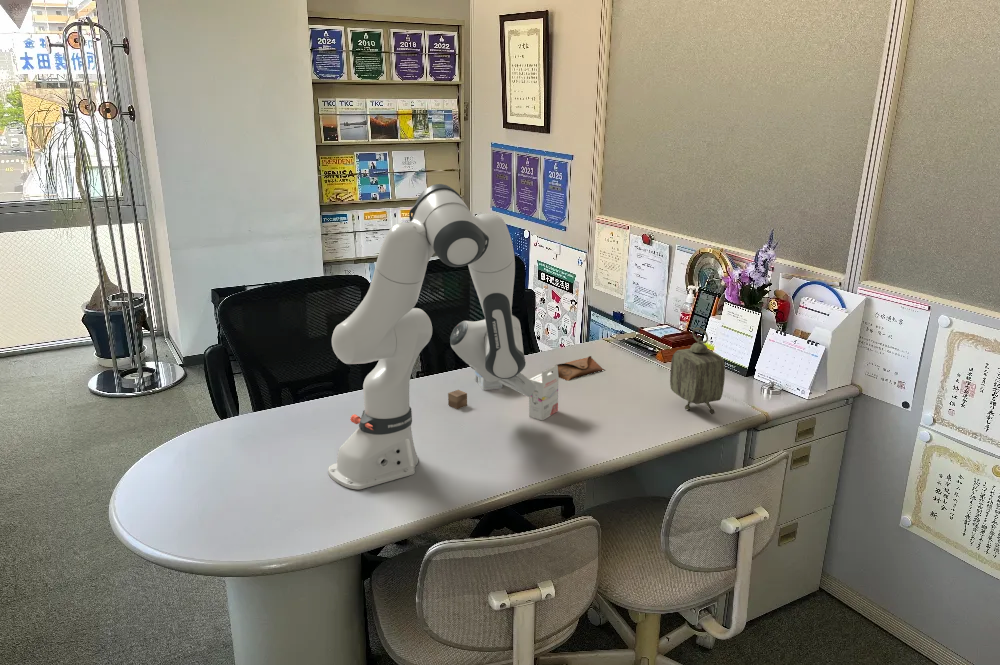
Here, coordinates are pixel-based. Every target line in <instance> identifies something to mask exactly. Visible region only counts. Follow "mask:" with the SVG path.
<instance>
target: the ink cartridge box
mask: <svg viewBox="0 0 1000 665" xmlns="http://www.w3.org/2000/svg"><path fill="white" fill-rule="evenodd" d="M555 365H556V366H555ZM555 365H554V366H552V367H550V368H548V369H546V370H544V371H542V372H541V373H539V374H537V375H535V376H533V377H531V378H528V379H529V380H530V381H531V382H533V383H534V384H535V385H536V389H535V391H534V392H533V394H532V395H531V396H530V397H528V416H529V418H532V419H536V420H539V421H544V420H545V419H547V418H549V417H551V416H553V415H554V414H555V413H557V412H559V375H558V365H557V364H555ZM552 371H553V373H552Z"/></svg>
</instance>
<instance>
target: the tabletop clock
mask: <svg viewBox="0 0 1000 665" xmlns="http://www.w3.org/2000/svg"><path fill="white" fill-rule="evenodd" d="M697 330H698V331H701V332H702V333H703V334H704V335H705V338H706V340H702V339H703V338H702V337H700V336H699V337H697V336H696V335H695V331H697ZM692 337H693V339H694V340H695V341H696V342H695V343H693V344H691V346H690V348H684V349H678V350H676V351H675V352H674V353H673V355H672V358H671V363H670V377H669V378H670V379H669V386H670V389H671V392H673V393H674V394H676V395H677V396H679V397H680V398H682V399H683V400H686V401H687V404H686V405H685V406H684V409H685V410H686V409H690V410H691V408H692V407H691V406H690V405H691V403H693V404H694V405H698V404H699V405H700V404H705V405H706V406H707V408H708V409H709V411H708V412H709V413H711V414H710V415H714V414H715V412H716V410H715V408H712V407H711V405H710V403H711V402H716V401H717V402H718V401H720V400H721V399H722V396H723V393H724V386H725V378H726V377H725V376H726V375H725V374H726V363H725V360H724V359H723V357H722V356H721V355H719V354H718V353H716V352H715V351H713V350H711V349H709V348H708V346H707V345H706V343H708V341H709V336H708V333H707V331H706V330H705V329H703V328H701V327H695V328H693V330H692Z"/></svg>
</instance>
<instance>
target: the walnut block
mask: <svg viewBox="0 0 1000 665" xmlns="http://www.w3.org/2000/svg"><path fill="white" fill-rule="evenodd" d="M447 398H448V399H447V401H448V404H447V406H448V405H449V407H451V408H454V409H455V410H459V409H462V408H464V407H467V406H468V393H467V392H466V391H463V390H460V389H457V390H456V389H455V390H453V391H450V392H448V393H447Z"/></svg>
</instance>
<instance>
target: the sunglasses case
mask: <svg viewBox="0 0 1000 665" xmlns="http://www.w3.org/2000/svg"><path fill="white" fill-rule="evenodd" d="M556 365H558V375H559V377H558V379H562V380H564V379H565V381H572V380H575V379H579V378H582V377H585V376H587V374H589V375H592V374H595V373H594V372H596V373H599V372H598V371H600V372H603V371H602V370H605V369H604V368H602V367H601V365H600V364H599V363H597V361H596V360H595V359H593V357H592V355H589V356H587V357H585V358H579V359H575V360H570V361H568V362H567V361H566V362H564V363H558V364H555V365H554V366H556ZM551 373H553V371H551ZM591 373H592V374H591ZM581 376H582V377H581Z"/></svg>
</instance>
